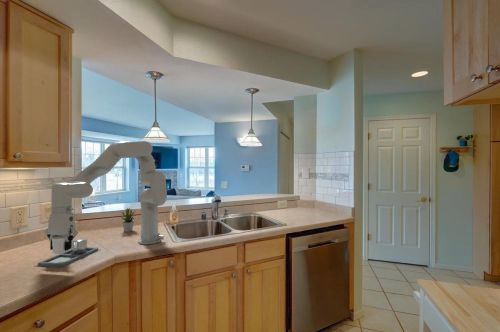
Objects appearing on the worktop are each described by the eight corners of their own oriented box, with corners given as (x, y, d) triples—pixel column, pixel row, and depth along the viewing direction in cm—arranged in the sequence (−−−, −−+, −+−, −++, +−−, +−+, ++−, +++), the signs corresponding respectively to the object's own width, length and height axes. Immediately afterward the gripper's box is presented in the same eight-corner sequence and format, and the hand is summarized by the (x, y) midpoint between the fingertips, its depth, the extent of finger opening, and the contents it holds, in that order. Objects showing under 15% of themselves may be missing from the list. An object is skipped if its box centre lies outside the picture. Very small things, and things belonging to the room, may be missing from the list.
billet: (90, 251, 129) (90, 238, 129) (79, 256, 122) (80, 242, 122) (78, 250, 130) (78, 238, 129) (67, 255, 123) (67, 242, 123)
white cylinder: (57, 249, 118) (58, 234, 118) (73, 249, 119) (73, 234, 119) (47, 254, 112) (47, 238, 112) (63, 254, 112) (64, 238, 112)
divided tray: (101, 251, 132) (101, 247, 132) (61, 271, 108) (61, 265, 108) (77, 250, 133) (77, 246, 133) (33, 269, 110) (33, 263, 110)
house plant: (113, 229, 176) (113, 206, 176) (134, 227, 185) (135, 204, 185) (117, 234, 165) (117, 209, 165) (140, 231, 173) (140, 207, 173)
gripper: (85, 209, 118) (84, 247, 118) (51, 207, 120) (51, 245, 120) (72, 212, 111) (71, 253, 111) (36, 210, 113) (36, 251, 113)
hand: (60, 248), depth 115 cm, fingers closed on white cylinder, 6 cm apart
